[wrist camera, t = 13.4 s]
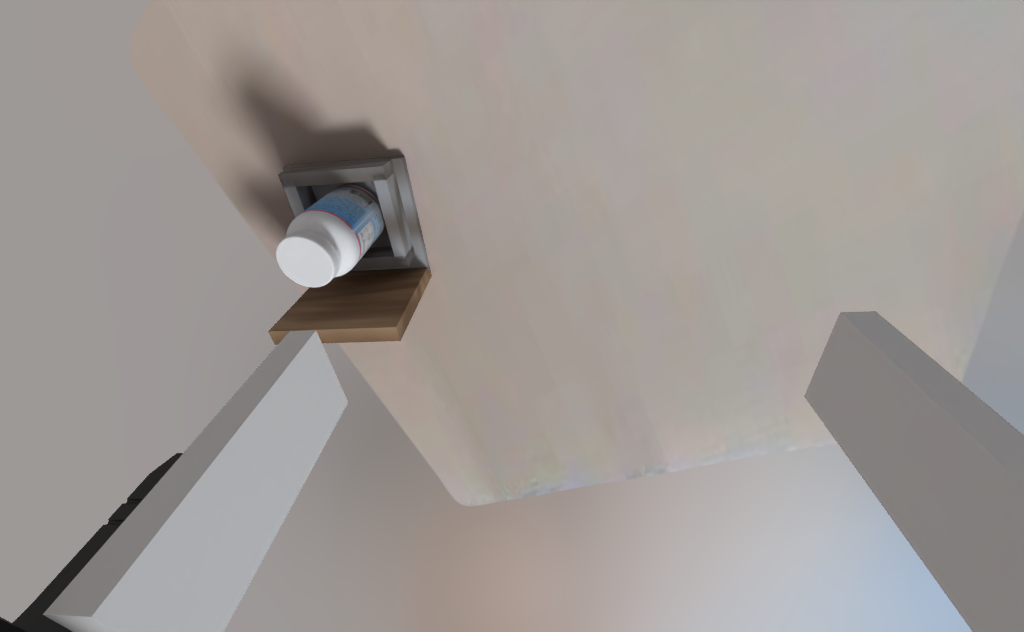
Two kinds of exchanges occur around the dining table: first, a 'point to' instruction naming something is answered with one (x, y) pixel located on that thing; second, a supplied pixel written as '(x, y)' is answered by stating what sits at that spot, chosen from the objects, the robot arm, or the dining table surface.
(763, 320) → the dining table surface
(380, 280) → the cup bracket
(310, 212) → the pill bottle
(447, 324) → the dining table surface
